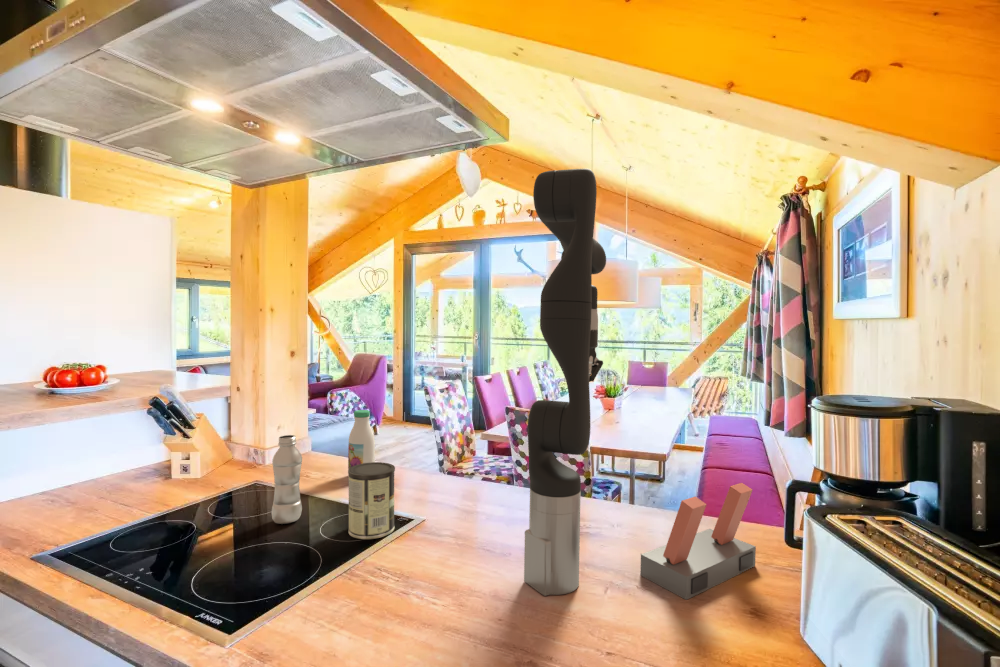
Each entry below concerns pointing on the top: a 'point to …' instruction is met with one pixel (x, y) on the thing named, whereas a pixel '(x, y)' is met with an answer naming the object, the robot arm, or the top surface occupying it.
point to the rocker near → (684, 530)
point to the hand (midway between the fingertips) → (580, 399)
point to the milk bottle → (361, 440)
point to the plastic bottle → (286, 481)
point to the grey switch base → (698, 565)
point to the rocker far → (731, 513)
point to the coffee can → (371, 500)
